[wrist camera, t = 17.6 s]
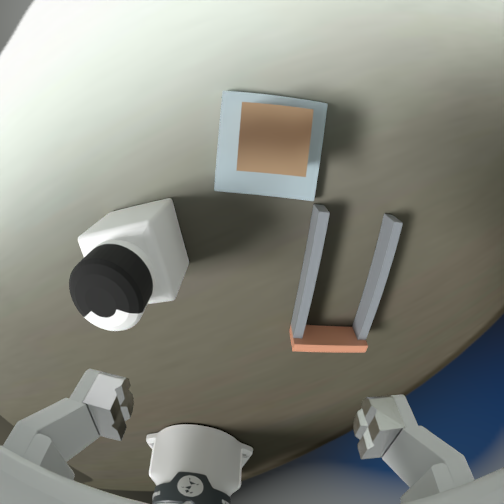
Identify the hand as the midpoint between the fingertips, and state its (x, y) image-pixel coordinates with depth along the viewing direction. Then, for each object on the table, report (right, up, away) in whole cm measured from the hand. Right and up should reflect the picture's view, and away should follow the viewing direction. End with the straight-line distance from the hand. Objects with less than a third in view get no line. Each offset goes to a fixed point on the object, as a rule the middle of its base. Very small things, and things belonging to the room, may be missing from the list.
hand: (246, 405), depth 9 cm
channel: (+9, +3, +22) cm, 25 cm away
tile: (+2, +15, +17) cm, 23 cm away
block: (+2, +15, +16) cm, 22 cm away
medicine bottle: (-10, +7, +21) cm, 24 cm away
